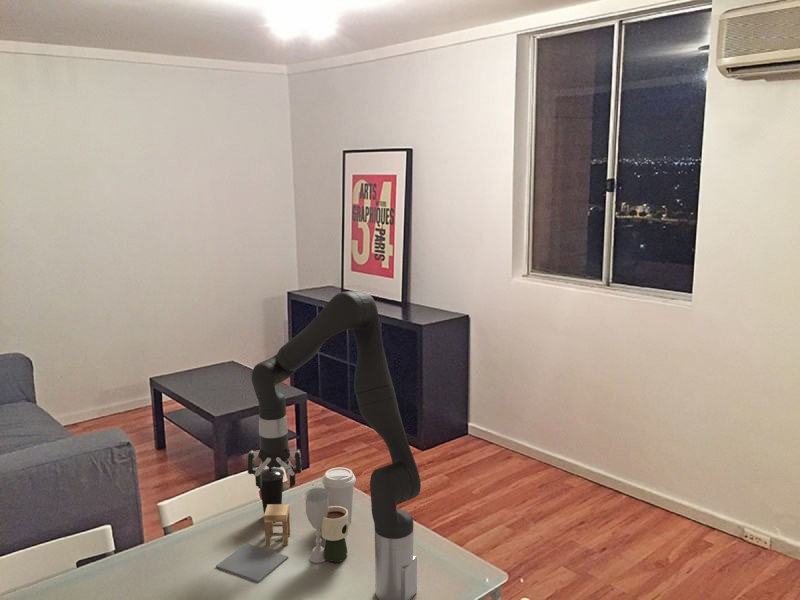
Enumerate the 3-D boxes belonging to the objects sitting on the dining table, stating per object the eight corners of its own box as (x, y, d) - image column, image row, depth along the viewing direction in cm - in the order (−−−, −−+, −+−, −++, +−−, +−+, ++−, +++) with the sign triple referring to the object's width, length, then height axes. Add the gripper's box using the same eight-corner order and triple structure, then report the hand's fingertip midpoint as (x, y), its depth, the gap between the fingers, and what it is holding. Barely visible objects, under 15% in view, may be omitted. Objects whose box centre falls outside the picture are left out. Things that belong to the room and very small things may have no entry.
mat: (288, 558, 182) (288, 556, 182) (258, 582, 171) (258, 580, 171) (246, 544, 188) (246, 542, 188) (216, 567, 178) (215, 565, 178)
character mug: (346, 570, 176) (345, 523, 174) (318, 569, 177) (317, 523, 174) (351, 546, 187) (350, 502, 184) (325, 545, 187) (324, 501, 185)
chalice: (326, 566, 178) (324, 502, 174) (301, 563, 179) (299, 500, 175) (335, 551, 185) (333, 489, 181) (311, 548, 186) (309, 486, 182)
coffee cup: (318, 527, 197) (316, 478, 193) (331, 510, 205) (329, 464, 202) (349, 532, 194) (348, 483, 191) (361, 515, 203) (360, 468, 200)
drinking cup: (256, 513, 204) (253, 450, 200) (281, 508, 207) (279, 446, 203) (263, 525, 197) (259, 461, 193) (289, 520, 201) (286, 456, 196)
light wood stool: (290, 533, 194) (289, 504, 192) (287, 545, 188) (286, 515, 186) (268, 533, 193) (267, 504, 191) (265, 545, 187) (263, 515, 186)
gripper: (301, 425, 188) (303, 480, 191) (249, 426, 187) (252, 480, 191) (298, 436, 180) (300, 493, 184) (243, 437, 180) (247, 494, 184)
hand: (275, 486), depth 187 cm, fingers open, 8 cm apart
